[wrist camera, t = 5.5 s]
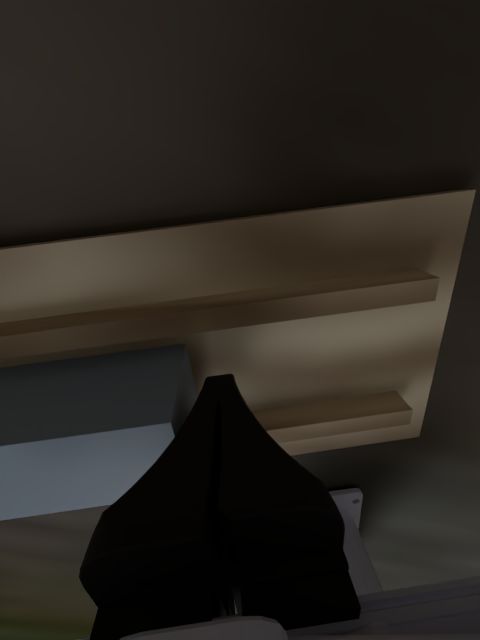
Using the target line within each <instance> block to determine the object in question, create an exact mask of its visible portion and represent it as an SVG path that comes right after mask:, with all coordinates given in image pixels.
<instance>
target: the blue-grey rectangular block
mask: <svg viewBox="0 0 480 640" xmlns="http://www.w3.org/2000/svg"><path fill="white" fill-rule="evenodd" d="M197 398H198V396H197V392H196V387H195V383H194V378H193V374H192V369H191V364H190V360H189V355H188V351H187V346H186V343H184V344H177V345H169V346H161V347H154V348H146V349H139V350H131V351H123V352H116V353H108V354H101V355H93V356H86V357H78V358H70V359H63V360H55V361H48V362H40V363H32V364H25V365H17V366H10V367H2V368H0V520H7V519H14V518H21V517H28V516H35V515H42V514H49V513H55V512H62V511H69V510H76V509H83V508H90V507H97V506H104V505H110V504H113V503H114V502H116V501H117V500H118V499H119V498H120V497H121V496H122V495H123V494H125V493H126V492H127V491H128V490H129V489H130V488H131V487H132V486H133V485H134V484H135V483H136V482H137V481H138V480H139V479H140V478H141V477H142V476H143V475H144V474H145V473H146V471H147V470H148V469H149V468H150V467H151V466H152V465H153V464H154V463H155V462H156V460H157V459H158V458H159V457H160V455H161V454H162V453H163V452H164V450H165V449H166V448H167V447H168V445H169V444H170V443H171V441H172V440H173V439H174V437H175V436H176V434H177V433H178V431H179V430H180V428H181V427H182V425H183V423H184V422H185V420H186V418H187V417H188V415H189V413H190V411H191V410H192V408H193V406H194V404H195V402H196V400H197Z"/></svg>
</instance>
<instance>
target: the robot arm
mask: <svg viewBox="0 0 480 640" xmlns="http://www.w3.org/2000/svg"><path fill="white" fill-rule="evenodd" d="M362 499H363V494H362V492H361V490H360V489H359V488H349V489H343V490H336V491H329V492H328V490H327V488H326V487H325V485H324V484H323V482H322V481H321V480H320V479H318V478H317V477H316V476H314V475H313V474H312V473H310V472H309V471H308V470H306V469H305V468H304V467H303V466H301V465H300V464H299V463H298V462H297V461H296V460H294V459H293V458H292V457H291V456H290V455H289V454H288V453H287V452H286V451H285V450H284V449H283V448H282V447H281V446H280V445H279V444H278V443H277V442H276V441H275V440H274V439H273V438H272V437H271V436H270V435H269V434H268V433H267V431H266V430H265V429H264V428H263V427H262V425H261V424H260V423H259V421H258V420H257V419H256V417H255V416H254V415H253V413H252V412H251V410H250V409H249V407H248V405H247V404H246V402H245V400H244V399H243V397H242V395H241V393H240V391H239V389H238V387H237V384H236V382H235V378H234V375H233V374H224V375H216V376H209V377H207V378H206V379H205V381H204V384H203V387H202V389H201V391H200V393H199V396H198V398H197V400H196V402H195V404H194V406H193V408H192V410H191V411H190V413H189V415H188V417H187V418H186V420H185V422H184V423H183V425H182V427H181V428H180V430H179V431H178V433H177V434H176V436H175V437H174V439H173V440H172V441H171V443H170V444H169V445H168V447H167V448H166V449H165V450H164V452H163V453H162V454H161V455H160V457H159V458H158V459H157V460H156V462H155V463H154V464H153V465H152V466H151V467H150V468H149V469H148V470H147V471H146V473H145V474H144V475H143V476H142V477H141V478H140V479H139V480H138V481H137V482H136V483H135V484H134V485H133V486H132V487H131V488H130V489H129V490H128V491H127V492H126V493H125V494H123V495H122V496H121V497H120V498H119V499H118V500H117V501H116V502H114V503H113V504H112V505H111V506H110V507H109V508H108V509H106V510H105V511H104V512H103V513H102V515H101V518H100V520H99V522H98V524H97V526H96V528H95V530H94V533H93V535H92V537H91V540H90V543H89V546H88V548H87V551H86V554H85V557H84V560H83V563H82V565H81V568H80V574H79V578H80V581H81V583H82V585H83V587H84V589H85V590H86V591H87V593H88V594H89V596H90V597H91V598H92V600H93V601H94V602H95V604H96V605H97V607H98V611H97V614H96V618H95V622H94V625H93V629H92V632H91V636H90V637H89V638H83V639H76V640H480V576H477V577H471V578H464V579H458V580H452V581H445V582H439V583H433V584H426V585H420V586H414V587H407V588H401V589H394V590H388V591H383V588H382V586H381V583H380V581H379V579H378V576H377V574H376V571H375V569H374V567H373V564H372V562H371V559H370V557H369V555H368V552H367V550H366V547H365V545H364V543H363V540H362V538H361V535H360V533H359V523H360V515H361V507H362ZM234 600H235V604H236V608H237V612H238V614H235V605H234Z"/></svg>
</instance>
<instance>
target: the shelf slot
mask: <svg viewBox="0 0 480 640" xmlns="http://www.w3.org/2000/svg"><path fill="white" fill-rule="evenodd" d="M475 192H476V190H453V191H445V192H437V193H429V194H421V195H413V196H405V197H397V198H389V199H381V200H373V201H365V202H358V203H350V204H342V205H334V206H326V207H318V208H310V209H302V210H294V211H286V212H278V213H270V214H262V215H254V216H247V217H239V218H231V219H223V220H215V221H207V222H199V223H191V224H183V225H175V226H167V227H159V228H151V229H143V230H136V231H128V232H120V233H112V234H104V235H96V236H88V237H80V238H72V239H64V240H56V241H48V242H40V243H32V244H25V245H17V246H9V247H1V248H0V368H2V367H10V366H17V365H25V364H32V363H40V362H48V361H55V360H63V359H70V358H78V357H86V356H93V355H101V354H108V353H116V352H123V351H131V350H139V349H146V348H154V347H161V346H169V345H177V344H184V343H186V346H187V351H188V355H189V360H190V364H191V369H192V374H193V378H194V383H195V387H196V392H197V396H199V393H200V391H201V389H202V387H203V384H204V381H205V379H206V378H207V377H209V376H216V375H224V374H233V375H234V378H235V382H236V384H237V387H238V389H239V391H240V393H241V395H242V397H243V399H244V400H245V402H246V404H247V405H248V407H249V409H250V410H251V412H252V413H253V415H254V416H255V417H256V419H257V420H258V421H259V423H260V424H261V425H262V427H263V428H264V429H265V430H266V431H267V433H268V434H269V435H270V436H271V437H272V438H273V439H274V440H275V441H276V442H277V443H278V444H279V445H280V446H281V447H282V448H283V449H284V450H285V451H286V452H287V453H288V454H289V455H290V456H292V455H299V454H305V453H312V452H319V451H326V450H333V449H340V448H346V447H353V446H360V445H367V444H374V443H381V442H387V441H394V440H401V439H408V438H415V437H419V435H420V431H421V427H422V422H423V418H424V414H425V409H426V405H427V401H428V396H429V392H430V388H431V383H432V379H433V375H434V370H435V366H436V361H437V357H438V353H439V348H440V344H441V340H442V335H443V331H444V327H445V322H446V318H447V314H448V309H449V305H450V301H451V296H452V292H453V288H454V283H455V279H456V274H457V270H458V266H459V261H460V257H461V253H462V248H463V244H464V240H465V235H466V231H467V227H468V222H469V218H470V214H471V209H472V205H473V201H474V196H475Z"/></svg>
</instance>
